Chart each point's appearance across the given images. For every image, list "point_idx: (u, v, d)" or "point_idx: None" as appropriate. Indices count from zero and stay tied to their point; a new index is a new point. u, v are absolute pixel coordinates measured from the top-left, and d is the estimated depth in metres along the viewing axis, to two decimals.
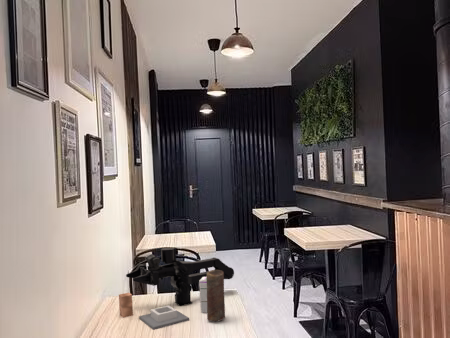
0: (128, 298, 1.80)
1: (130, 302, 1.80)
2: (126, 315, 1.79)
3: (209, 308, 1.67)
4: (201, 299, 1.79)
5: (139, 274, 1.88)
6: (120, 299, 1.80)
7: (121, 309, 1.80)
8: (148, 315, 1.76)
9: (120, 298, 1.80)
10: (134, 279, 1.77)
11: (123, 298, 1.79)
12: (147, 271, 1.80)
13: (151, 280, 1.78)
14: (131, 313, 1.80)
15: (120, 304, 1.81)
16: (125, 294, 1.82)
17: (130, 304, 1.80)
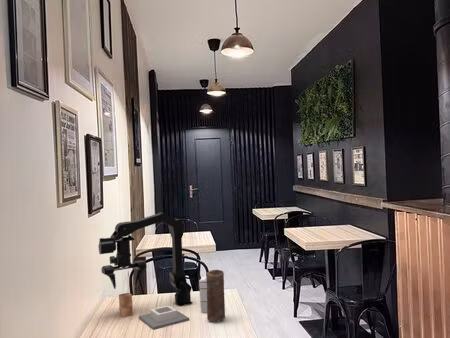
0: (128, 298, 1.80)
1: (130, 302, 1.80)
2: (126, 315, 1.79)
3: (209, 308, 1.67)
4: (201, 299, 1.79)
5: (136, 270, 1.84)
6: (120, 299, 1.80)
7: (121, 309, 1.80)
8: (148, 315, 1.76)
9: (120, 298, 1.80)
10: (114, 287, 1.79)
11: (123, 298, 1.79)
12: None
13: None
14: (131, 313, 1.80)
15: (120, 304, 1.81)
16: (125, 294, 1.82)
17: (130, 304, 1.80)
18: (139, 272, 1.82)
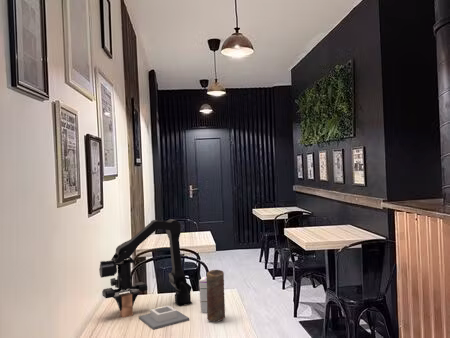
0: (128, 298, 1.80)
1: (130, 302, 1.80)
2: (126, 315, 1.79)
3: (209, 308, 1.67)
4: (201, 299, 1.79)
5: (132, 293, 1.82)
6: None
7: None
8: (148, 315, 1.76)
9: None
10: None
11: (123, 298, 1.79)
12: None
13: (113, 296, 1.78)
14: (131, 313, 1.80)
15: None
16: (125, 294, 1.82)
17: (130, 304, 1.80)
18: (135, 295, 1.81)
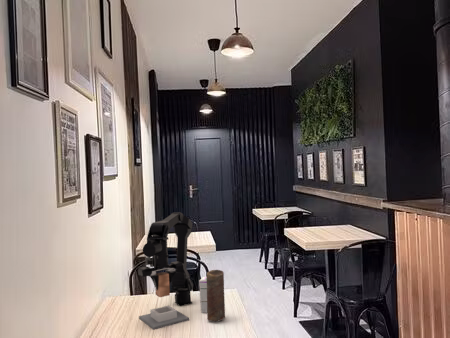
0: (165, 277, 1.72)
1: (167, 281, 1.73)
2: (163, 295, 1.71)
3: (209, 308, 1.67)
4: (201, 299, 1.79)
5: (168, 273, 1.75)
6: None
7: (158, 288, 1.72)
8: (148, 315, 1.76)
9: None
10: (156, 289, 1.72)
11: (160, 277, 1.71)
12: None
13: None
14: (168, 293, 1.73)
15: None
16: (161, 273, 1.74)
17: (166, 284, 1.72)
18: (172, 274, 1.74)
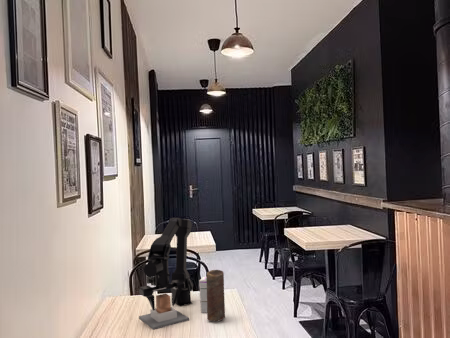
0: (166, 299, 1.72)
1: (168, 303, 1.72)
2: None
3: (209, 308, 1.67)
4: (201, 299, 1.79)
5: (173, 291, 1.76)
6: (158, 300, 1.73)
7: (159, 311, 1.72)
8: (148, 315, 1.76)
9: (158, 299, 1.72)
10: (152, 309, 1.71)
11: (161, 299, 1.71)
12: None
13: None
14: None
15: (158, 305, 1.73)
16: (163, 295, 1.74)
17: (168, 306, 1.72)
18: (177, 292, 1.75)
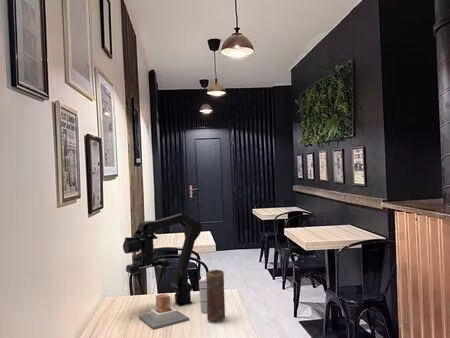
0: (166, 299, 1.72)
1: (168, 303, 1.72)
2: None
3: (209, 308, 1.67)
4: (201, 299, 1.79)
5: (159, 268, 1.86)
6: (158, 300, 1.73)
7: (159, 311, 1.72)
8: (148, 315, 1.76)
9: (158, 299, 1.72)
10: (138, 286, 1.81)
11: (161, 299, 1.71)
12: None
13: (132, 272, 1.78)
14: None
15: (158, 305, 1.73)
16: (163, 295, 1.74)
17: (168, 306, 1.72)
18: (163, 270, 1.85)
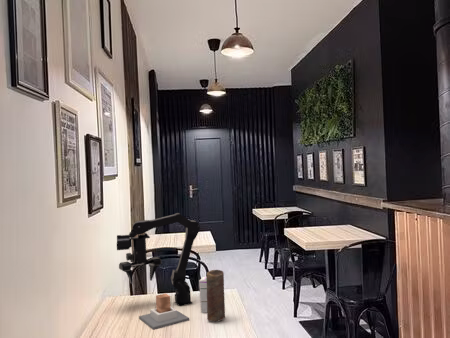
0: (166, 299, 1.72)
1: (168, 303, 1.72)
2: None
3: (209, 308, 1.67)
4: (201, 299, 1.79)
5: (151, 266, 1.92)
6: (158, 300, 1.73)
7: (159, 311, 1.72)
8: (148, 315, 1.76)
9: (158, 299, 1.72)
10: None
11: (161, 299, 1.71)
12: None
13: None
14: None
15: (158, 305, 1.73)
16: (163, 295, 1.74)
17: (168, 306, 1.72)
18: (155, 268, 1.91)
